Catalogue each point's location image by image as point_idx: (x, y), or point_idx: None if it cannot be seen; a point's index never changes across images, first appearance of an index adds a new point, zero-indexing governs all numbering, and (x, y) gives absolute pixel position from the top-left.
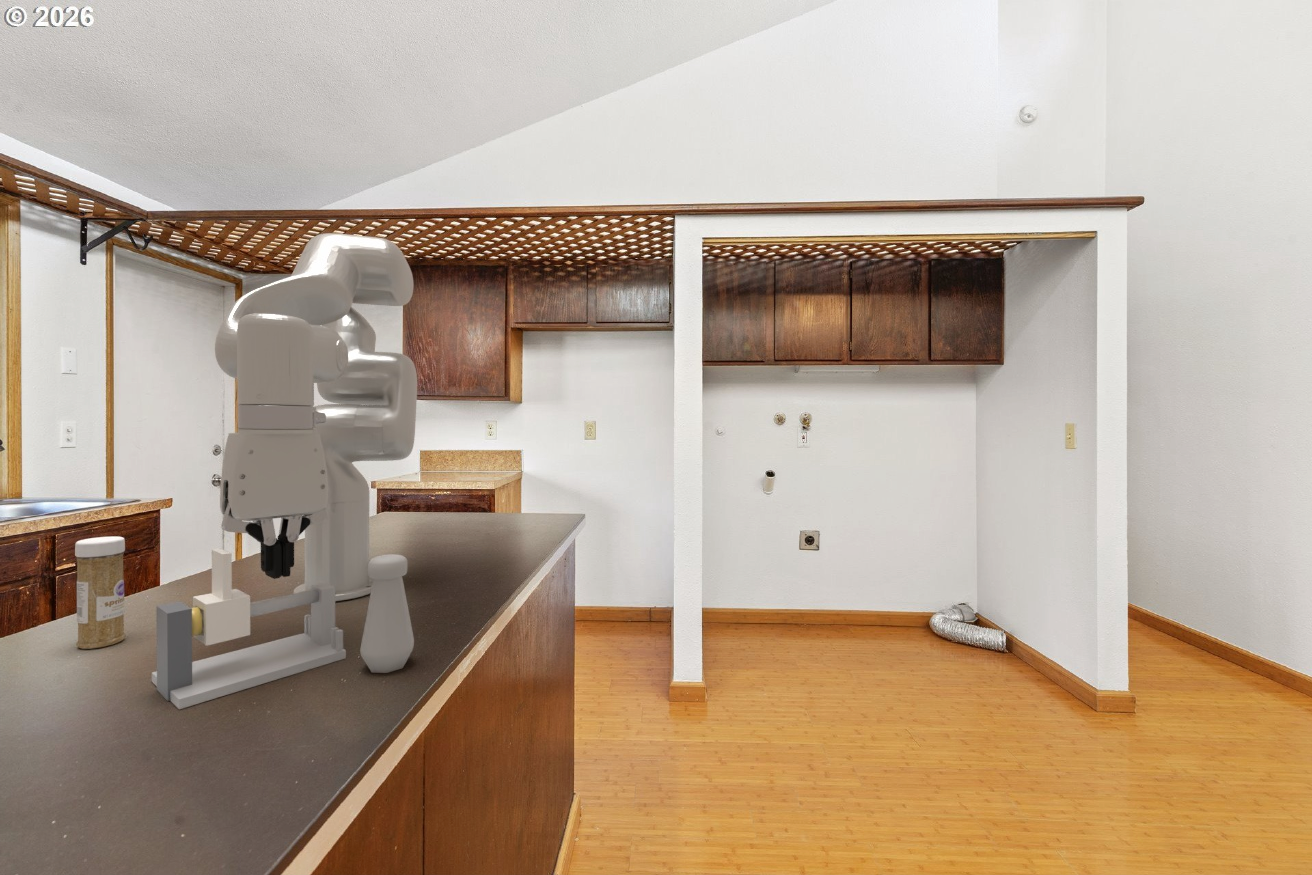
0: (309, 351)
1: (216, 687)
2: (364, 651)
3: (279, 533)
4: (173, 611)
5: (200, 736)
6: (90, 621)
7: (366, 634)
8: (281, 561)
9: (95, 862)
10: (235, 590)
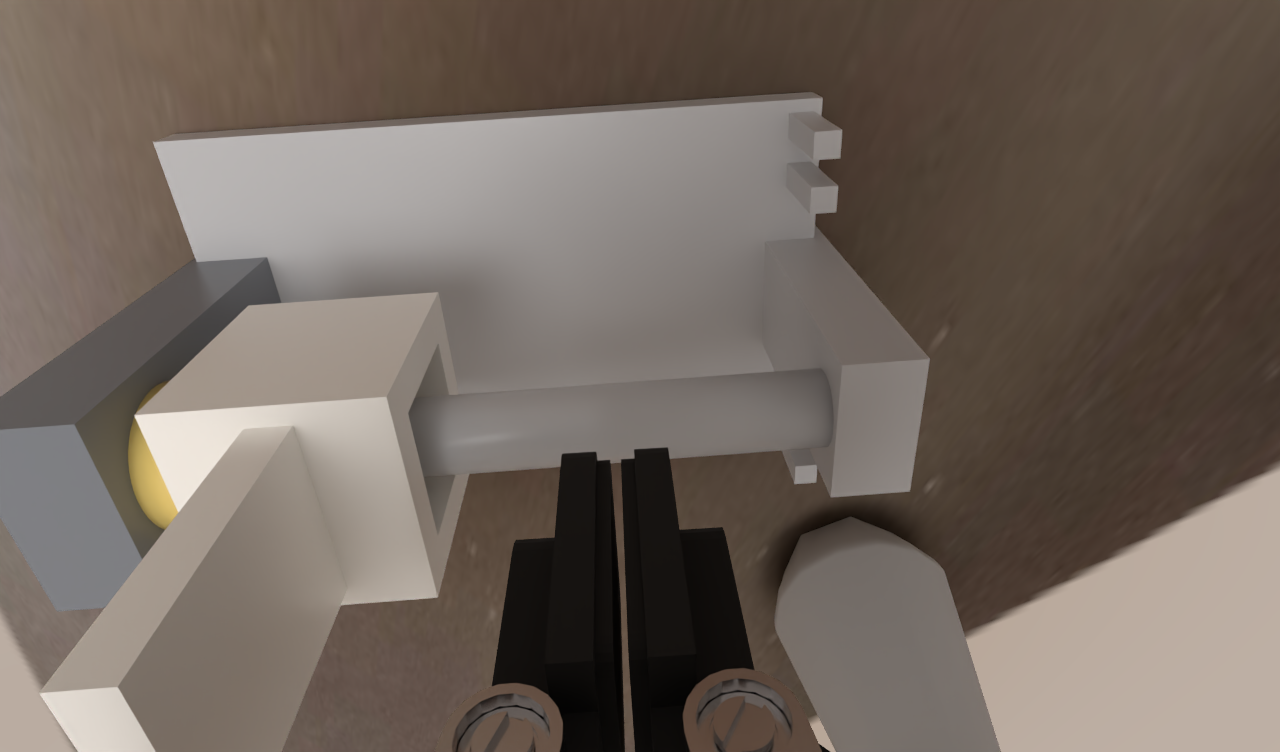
0: None
1: None
2: (778, 630)
3: (689, 749)
4: (80, 594)
5: (340, 631)
6: None
7: (803, 669)
8: (622, 685)
9: None
10: (379, 442)
